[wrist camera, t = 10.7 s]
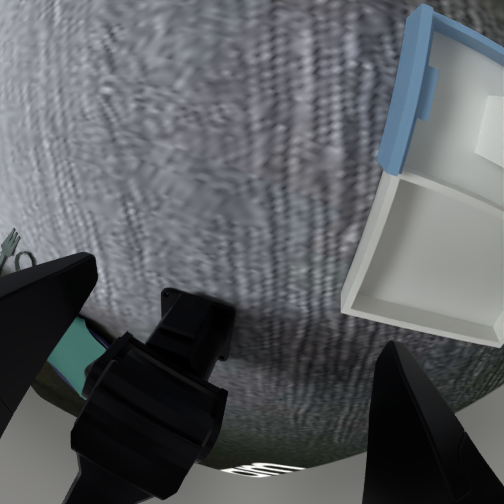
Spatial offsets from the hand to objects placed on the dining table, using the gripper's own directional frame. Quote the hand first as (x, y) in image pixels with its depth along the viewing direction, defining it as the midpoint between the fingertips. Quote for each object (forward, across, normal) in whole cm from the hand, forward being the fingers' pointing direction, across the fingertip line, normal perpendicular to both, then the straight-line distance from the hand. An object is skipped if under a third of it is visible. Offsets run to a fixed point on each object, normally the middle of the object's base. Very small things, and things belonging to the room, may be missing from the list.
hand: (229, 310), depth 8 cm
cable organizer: (+12, -13, -3) cm, 18 cm away
